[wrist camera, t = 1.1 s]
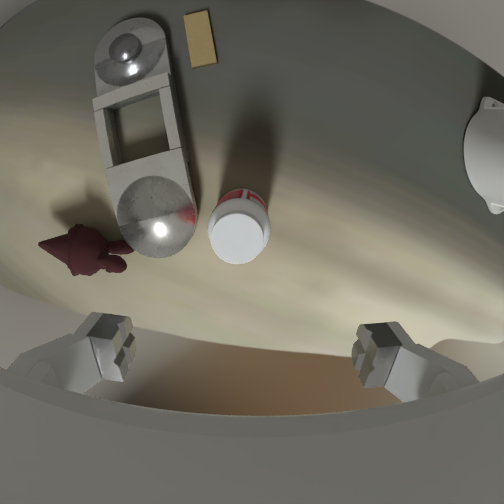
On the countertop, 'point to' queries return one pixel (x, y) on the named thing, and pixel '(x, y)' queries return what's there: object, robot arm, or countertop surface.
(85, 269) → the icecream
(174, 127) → the flat tray with frame
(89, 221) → the countertop surface
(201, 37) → the link plate
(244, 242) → the pill bottle
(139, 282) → the countertop surface
